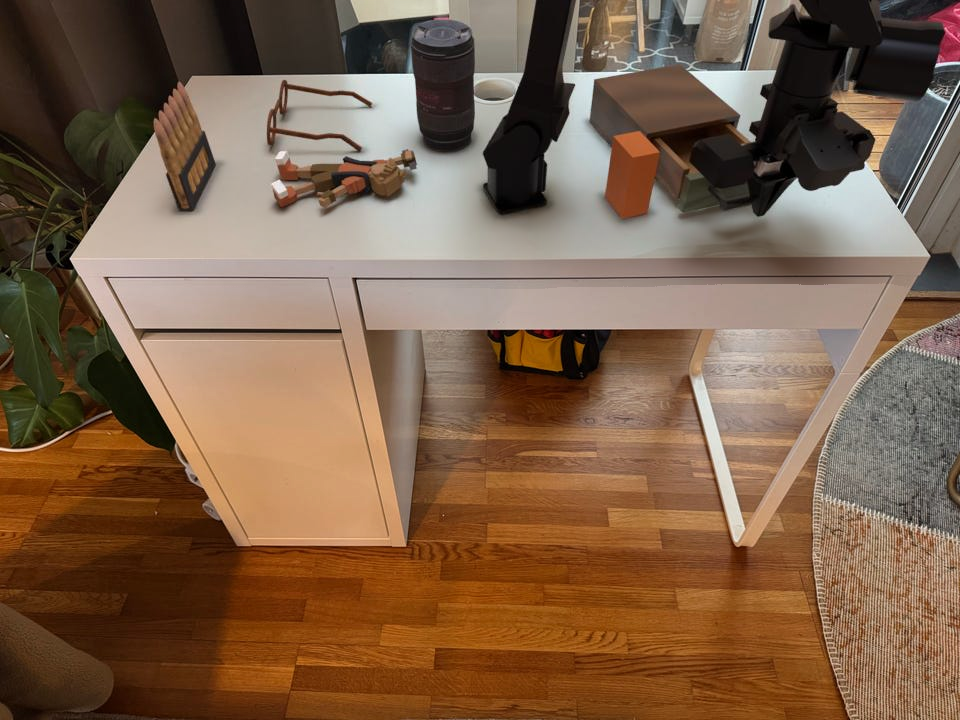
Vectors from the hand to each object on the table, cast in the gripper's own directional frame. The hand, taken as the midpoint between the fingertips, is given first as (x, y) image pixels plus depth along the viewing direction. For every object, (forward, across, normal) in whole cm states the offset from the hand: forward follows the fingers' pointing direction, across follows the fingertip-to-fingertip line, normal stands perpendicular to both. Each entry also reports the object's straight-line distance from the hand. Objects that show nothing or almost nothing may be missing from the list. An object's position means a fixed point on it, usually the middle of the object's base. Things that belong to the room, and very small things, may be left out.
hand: (758, 214), depth 81 cm
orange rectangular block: (+3, -11, +11) cm, 16 cm away
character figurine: (+4, -44, +26) cm, 51 cm away
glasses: (+4, -44, +42) cm, 61 cm away
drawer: (+2, 0, +11) cm, 11 cm away
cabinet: (+3, 0, +23) cm, 23 cm away
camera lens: (+4, -28, +33) cm, 43 cm away
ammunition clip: (+4, -62, +33) cm, 70 cm away
